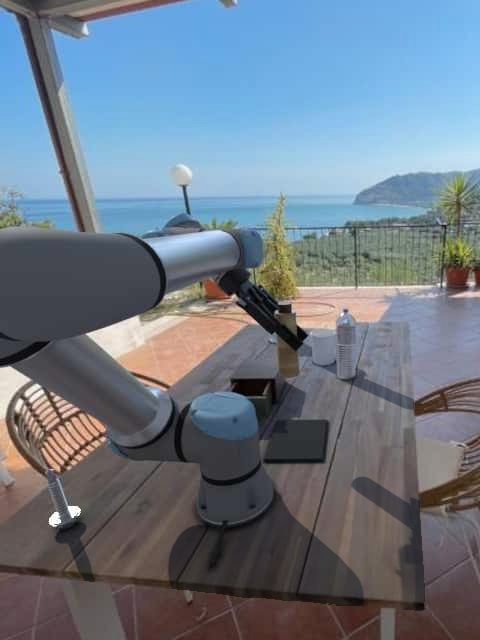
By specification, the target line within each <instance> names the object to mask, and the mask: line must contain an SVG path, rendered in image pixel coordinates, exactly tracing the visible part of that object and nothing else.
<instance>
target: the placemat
mask: <svg viewBox="0 0 480 640" xmlns="http://www.w3.org/2000/svg"><path fill="white" fill-rule="evenodd" d="M327 425H328V419H277V421H276V423H275V427H274V429H273V432H272V435H271V438H270V441H269V444H268V447H267V450H266V452H265V455H264V458H263V462H265V463H269V462H270V463H272V462H273V463H275V462H279V463H280V462H281V463H282V462H284V463H285V462H288V463H289V462H323V458H324V452H325V451H324V450H325V441H326V434H327Z"/></svg>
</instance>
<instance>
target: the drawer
mask: <svg viewBox="0 0 480 640" xmlns="http://www.w3.org/2000/svg"><path fill="white" fill-rule="evenodd" d="M228 392H232V393H237V394H240V395H242V396H244V397H246V398H247V399H249V400H250V402H251V403H252V404H253V405H254V408H255V412H256V417H257V420H258V421H259V420H268V419H269V410H270V408H271V405H272V404H273V403H272V400H273V398H274V389H273V381H235V382H234V384H233V385H232V387H231V386H230V388H229V390H228Z"/></svg>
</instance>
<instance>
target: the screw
mask: <svg viewBox="0 0 480 640" xmlns="http://www.w3.org/2000/svg"><path fill="white" fill-rule="evenodd" d="M44 474H45V477H46V481H47V484H46V486H47V489H48V491H49V494H50V496H51V499H52V502H53V505H54V508H55V511H56V512H54V513H53V514H52V515H51V517H50V518H49V521H48V522H49V525H50V526H51V527H53V528H59V529H61V530H67V529H69V528H72V527H73V526H75V524H76V522H77V519H78V518H79V517H80V515H81V509H80V508H79V507H78V506H69V505H68V501H67V499H66V496H65V493H64V489H63V486H62V483H61V481H60V480H59V478H58V477H57V475H56V473H55V470H54V468H48V469H47V470H45V472H44Z"/></svg>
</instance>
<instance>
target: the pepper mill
mask: <svg viewBox="0 0 480 640" xmlns="http://www.w3.org/2000/svg"><path fill="white" fill-rule="evenodd" d="M278 302H279V303H278V310H276V311H275V312H274V317H275V318H276V319H277V320H278V321H279V322H280V323H281V326H282V325H283V324H284V325H285V326H286V327H287V328H289V329H290V330H291V331H292V332H293V333H294V334H295V335H296V336H297V325H298V324H297V310H295V309H293V307H292V305H293V304H292V302H291V301H278ZM275 344H276V353H277V359H278V369H279V376H280V377H283V378H285V379H292V378H296V377H298V376H299V375H300V362H299V361H300V360H299V349H298V350H297V351H295V350H294V349H292V348H291V347H290V346H289V345H288V344H287V343H286V342H285V341H284V340H283V339H282V338H281V337H279V336H278V335H277V334H276V343H275Z"/></svg>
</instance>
